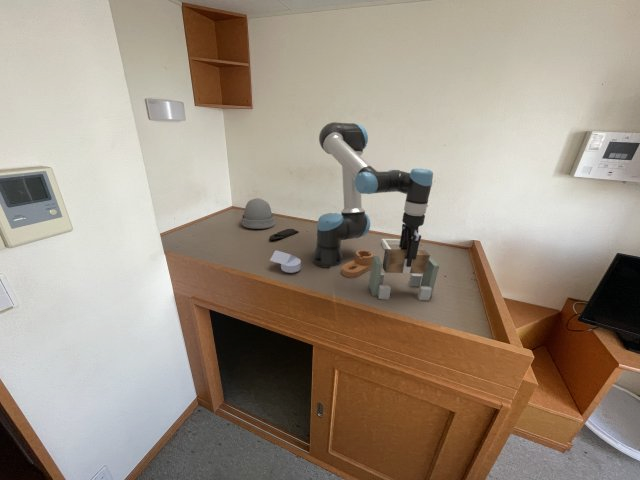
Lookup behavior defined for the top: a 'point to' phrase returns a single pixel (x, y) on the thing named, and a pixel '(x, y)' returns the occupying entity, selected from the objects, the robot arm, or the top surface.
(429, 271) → the green fixture with posts
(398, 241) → the frame
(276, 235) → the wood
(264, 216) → the beanie hat
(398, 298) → the top surface
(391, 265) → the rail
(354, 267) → the bracket
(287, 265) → the wedge on round base
